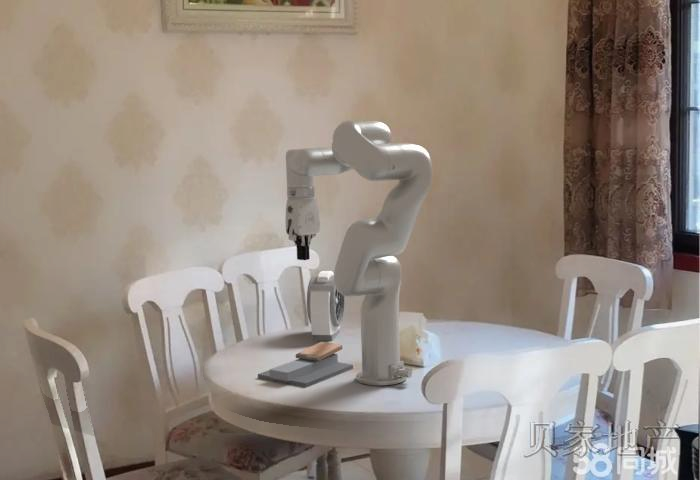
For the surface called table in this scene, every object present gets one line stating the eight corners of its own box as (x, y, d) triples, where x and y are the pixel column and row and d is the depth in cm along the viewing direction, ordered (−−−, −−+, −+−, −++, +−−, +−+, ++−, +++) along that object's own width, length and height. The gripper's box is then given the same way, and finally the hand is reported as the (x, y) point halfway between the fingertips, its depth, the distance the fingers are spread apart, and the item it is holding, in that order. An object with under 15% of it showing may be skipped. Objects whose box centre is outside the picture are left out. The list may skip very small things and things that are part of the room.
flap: (316, 357, 215) (316, 362, 215) (342, 344, 224) (342, 349, 224) (295, 354, 219) (295, 358, 219) (321, 341, 228) (321, 345, 228)
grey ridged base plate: (353, 368, 220) (352, 356, 220) (304, 388, 204) (303, 375, 204) (305, 360, 230) (305, 349, 229) (255, 379, 213) (254, 366, 213)
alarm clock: (334, 343, 248) (332, 276, 245) (306, 343, 249) (304, 276, 247) (346, 330, 265) (344, 267, 263) (320, 329, 267) (318, 267, 264)
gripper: (294, 195, 223) (296, 264, 225) (328, 192, 235) (330, 256, 237) (272, 195, 227) (275, 262, 229) (307, 191, 239) (309, 255, 241)
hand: (303, 259), depth 233 cm, fingers closed
